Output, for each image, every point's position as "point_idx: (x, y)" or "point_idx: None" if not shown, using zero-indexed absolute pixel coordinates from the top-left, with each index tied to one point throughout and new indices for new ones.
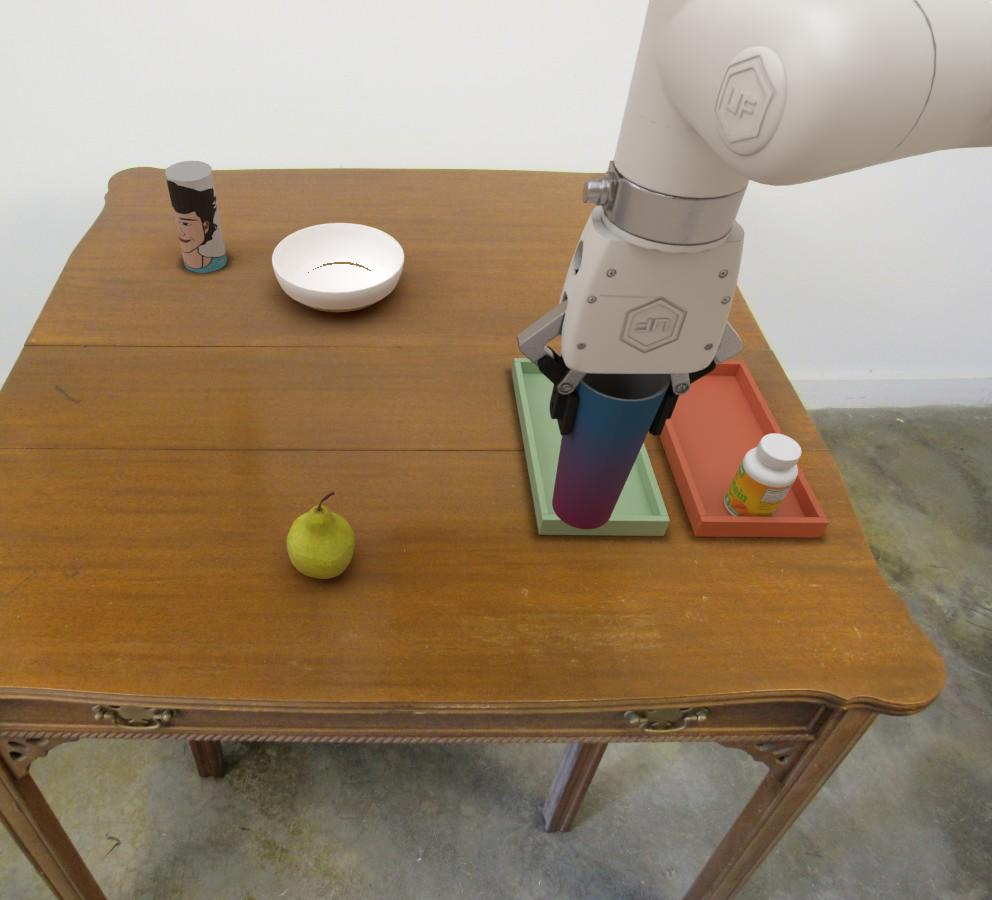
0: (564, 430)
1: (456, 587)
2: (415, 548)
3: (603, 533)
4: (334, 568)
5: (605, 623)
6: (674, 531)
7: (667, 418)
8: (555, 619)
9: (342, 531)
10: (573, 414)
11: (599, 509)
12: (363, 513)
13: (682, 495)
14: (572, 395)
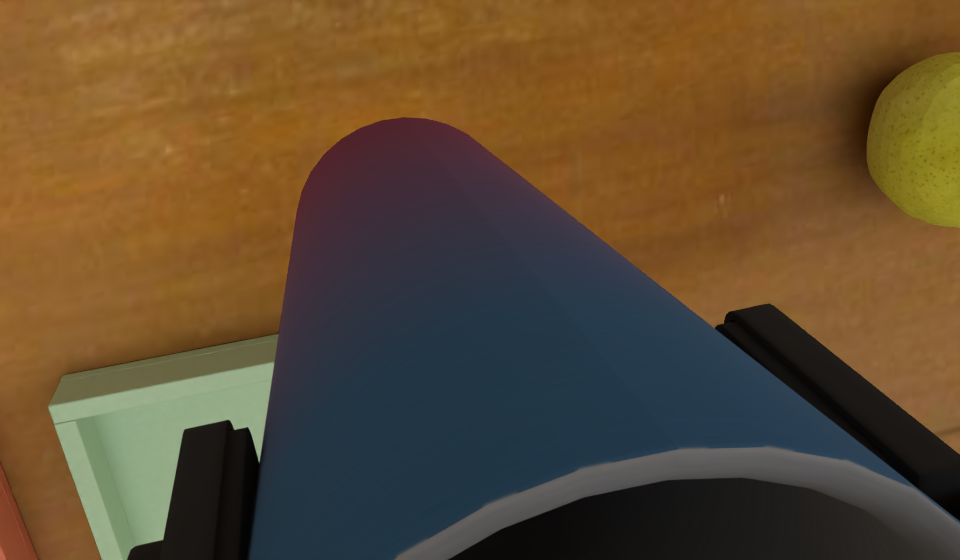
0: (778, 319)
1: (598, 113)
2: (697, 209)
3: (229, 346)
4: (936, 67)
5: (213, 68)
6: (32, 396)
7: (151, 543)
8: (347, 59)
9: (952, 155)
10: (824, 385)
11: (380, 146)
12: (816, 285)
13: (14, 512)
14: (953, 482)
